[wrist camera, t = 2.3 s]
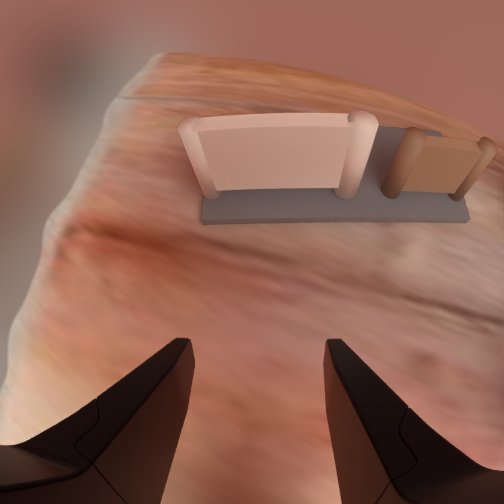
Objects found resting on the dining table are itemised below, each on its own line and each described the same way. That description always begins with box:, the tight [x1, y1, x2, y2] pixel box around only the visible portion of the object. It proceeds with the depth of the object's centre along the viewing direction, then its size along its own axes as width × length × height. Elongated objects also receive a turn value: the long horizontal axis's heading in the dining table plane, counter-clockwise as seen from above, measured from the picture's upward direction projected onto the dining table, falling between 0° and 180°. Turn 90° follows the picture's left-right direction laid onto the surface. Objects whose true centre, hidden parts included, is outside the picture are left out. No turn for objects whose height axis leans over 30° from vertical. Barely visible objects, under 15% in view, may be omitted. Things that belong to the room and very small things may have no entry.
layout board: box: [201, 126, 497, 225], centre depth 23 cm, size 23×10×8 cm, turn 89°
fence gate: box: [177, 110, 378, 200], centre depth 22 cm, size 12×2×8 cm, turn 89°
